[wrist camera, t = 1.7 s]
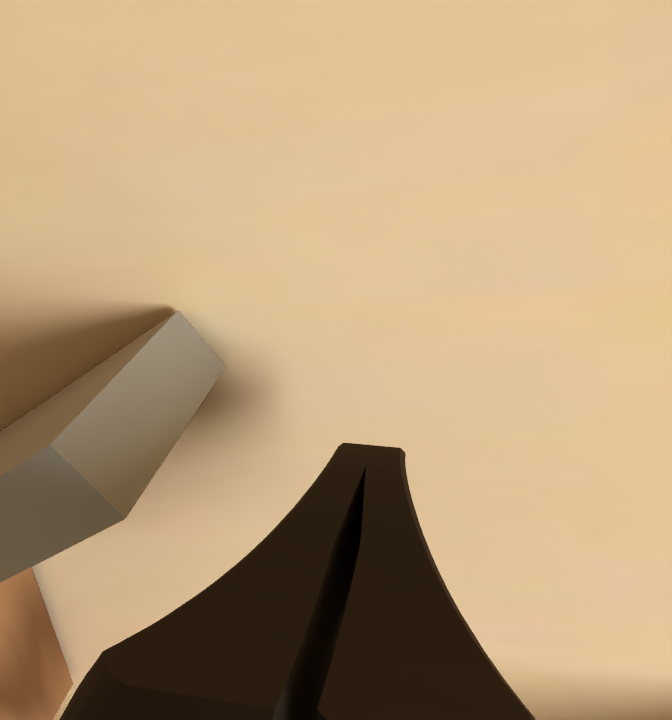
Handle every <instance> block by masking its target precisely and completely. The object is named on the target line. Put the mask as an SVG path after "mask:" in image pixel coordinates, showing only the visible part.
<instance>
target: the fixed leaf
mask: <svg viewBox="0 0 672 720" xmlns="http://www.w3.org/2000/svg"><path fill="white" fill-rule="evenodd" d="M72 685H73V682H72V679H71V676H70V673H69V671H68V668H67V665H66V662H65V659H64V657H63V654H62V651H61V648H60V645H59V643H58V640H57V637H56V634H55V631H54V628H53V626H52V623H51V620H50V617H49V614H48V612H47V609H46V606H45V603H44V600H43V598H42V595H41V592H40V589H39V586H38V584H37V581H36V578H35V575H34V572H33V570H32V567H30V568H28V569H26V570H24V571H22V572H20V573H18V574H16V575H14V576H12V577H10V578H9V579H7V580H5V581H3V582H1V583H0V720H53V718H54V716H55V714H56V713H57V711H58V709H59V708H60V706H61V704H62V702H63V701H64V699H65V697H66V695H67V694H68V692H69V690H70V688H71V687H72Z"/></svg>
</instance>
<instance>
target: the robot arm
mask: <svg viewBox="0 0 672 720" xmlns="http://www.w3.org/2000/svg"><path fill="white" fill-rule="evenodd" d="M60 720H535V718H534V716H533V715H532V714H531V713H530V711H529V710H528V709H527V708H526V707H525V705H524V704H523V703H522V702H521V700H520V699H519V698H518V697H517V695H516V694H515V693H514V691H513V690H512V689H511V687H510V686H509V685H508V683H507V682H506V681H505V680H504V678H503V677H502V676H501V674H500V673H499V671H498V670H497V668H496V667H495V666H494V664H493V663H492V661H491V660H490V658H489V657H488V656H487V654H486V653H485V651H484V650H483V648H482V647H481V645H480V643H479V642H478V640H477V639H476V637H475V635H474V634H473V632H472V631H471V629H470V627H469V626H468V624H467V623H466V621H465V619H464V618H463V616H462V615H461V613H460V611H459V609H458V608H457V606H456V604H455V602H454V600H453V598H452V597H451V595H450V593H449V591H448V589H447V587H446V585H445V583H444V581H443V579H442V577H441V575H440V573H439V571H438V569H437V566H436V564H435V562H434V560H433V557H432V555H431V553H430V550H429V548H428V545H427V543H426V540H425V538H424V535H423V532H422V530H421V527H420V524H419V521H418V518H417V515H416V511H415V508H414V505H413V502H412V498H411V494H410V490H409V485H408V481H407V475H406V468H405V452H404V451H403V450H402V449H401V448H395V447H384V446H373V445H362V444H352V443H343V444H341V445H340V446H338V448H337V450H336V451H335V453H334V455H333V456H332V458H331V459H330V461H329V462H328V464H327V465H326V467H325V468H324V470H323V471H322V472H321V474H320V475H319V476H318V478H317V479H316V480H315V482H314V483H313V484H312V486H311V487H310V488H309V489H308V491H307V492H306V493H305V494H304V496H303V497H302V498H301V499H300V501H299V502H298V503H297V504H296V505H295V507H294V508H293V509H292V510H291V511H290V512H289V513H288V514H287V515H286V516H285V518H284V519H283V520H282V521H281V522H280V523H279V524H278V525H277V526H276V527H275V528H274V530H273V531H272V532H271V533H270V534H269V535H268V536H267V537H266V538H265V539H264V540H263V541H262V542H261V543H260V544H258V545H257V546H256V547H255V548H254V549H253V550H252V551H251V552H250V553H249V554H248V555H247V556H245V557H244V558H243V559H242V560H241V561H240V562H239V563H237V564H236V565H235V566H234V567H233V568H231V569H230V570H229V571H228V572H226V573H225V574H224V575H223V576H222V577H220V578H219V579H218V580H217V581H215V582H214V583H213V584H211V585H210V586H209V587H207V588H206V589H205V590H203V591H202V592H201V593H199V594H198V595H196V596H195V597H193V598H192V599H190V600H189V601H187V602H186V603H185V604H183V605H182V606H180V607H179V608H177V609H176V610H174V611H173V612H171V613H170V614H168V615H167V616H165V617H164V618H162V619H160V620H159V621H157V622H156V623H154V624H152V625H151V626H149V627H147V628H145V629H143V630H142V631H140V632H138V633H136V634H134V635H133V636H131V637H129V638H127V639H125V640H123V641H122V642H120V643H118V644H116V645H114V646H112V647H110V648H108V649H106V650H105V651H103V652H102V653H101V655H100V656H99V658H98V659H97V661H96V662H95V664H94V665H93V666H92V668H91V669H90V670H89V672H88V673H87V674H86V676H85V677H84V679H83V680H82V682H81V683H80V685H79V686H78V688H77V690H76V691H75V693H74V695H73V697H72V699H71V700H70V702H69V704H68V706H67V707H66V709H65V711H64V713H63V715H62V716H61V718H60Z"/></svg>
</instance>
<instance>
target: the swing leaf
mask: <svg viewBox="0 0 672 720" xmlns="http://www.w3.org/2000/svg"><path fill="white" fill-rule="evenodd" d="M225 367H226V366H225V365H224V364H223V362H222V361H221V360H220V359H219V358H218V356H217V355H216V354H215V353H214V352H213V350H212V349H211V348H210V347H209V346H208V344H207V343H206V342H205V341H204V340H203V338H202V337H201V336H200V335H199V334H198V332H197V331H196V330H195V329H194V328H193V326H192V325H191V324H190V323H189V322H188V320H187V319H186V318H185V317H184V316H183V314H182V313H181V312H180V311H179V310H178V311H176V312H175V313H173V314H172V315H170V316H169V317H168V318H166V319H165V320H163V321H162V322H160V323H159V324H157V325H156V326H154V327H153V328H151V329H150V330H149V331H147V332H146V333H144V334H143V335H141V336H140V337H138V338H137V339H135V340H134V341H132V342H131V343H129V344H128V345H127V346H125V347H124V348H122V349H121V350H119V351H118V352H116V353H115V354H113V355H112V356H110V357H109V358H108V359H106V360H105V361H103V362H102V363H100V364H99V365H97V366H96V367H94V368H93V369H91V370H90V371H88V372H87V373H86V374H84V375H83V376H81V377H80V378H78V379H77V380H75V381H74V382H72V383H71V384H69V385H68V386H67V387H65V388H64V389H62V390H61V391H59V392H58V393H56V394H55V395H53V396H52V397H50V398H49V399H47V400H46V401H45V402H43V403H42V404H40V405H39V406H37V407H36V408H34V409H33V410H31V411H30V412H28V413H27V414H26V415H24V416H23V417H21V418H20V419H18V420H17V421H15V422H14V423H12V424H11V425H9V426H8V427H7V428H5V429H4V430H2V431H1V432H0V583H1V582H3V581H5V580H7V579H9V578H10V577H12V576H14V575H16V574H18V573H20V572H22V571H24V570H26V569H28V568H30V567H32V566H34V565H36V564H38V563H40V562H42V561H44V560H46V559H48V558H50V557H52V556H54V555H55V554H57V553H59V552H61V551H63V550H65V549H67V548H69V547H71V546H73V545H75V544H77V543H79V542H81V541H83V540H85V539H87V538H89V537H91V536H93V535H95V534H97V533H98V532H100V531H102V530H104V529H106V528H108V527H110V526H112V525H114V524H116V523H118V522H120V521H122V520H124V519H125V518H126V517H127V515H128V514H129V512H130V511H131V509H132V508H133V506H134V505H135V503H136V502H137V500H138V499H139V497H140V496H141V494H142V493H143V491H144V490H145V488H146V487H147V485H148V484H149V482H150V481H151V479H152V478H153V476H154V474H155V473H156V471H157V470H158V468H159V467H160V465H161V464H162V462H163V461H164V459H165V458H166V456H167V455H168V453H169V452H170V450H171V449H172V447H173V446H174V444H175V443H176V441H177V440H178V438H179V437H180V435H181V434H182V432H183V431H184V429H185V428H186V426H187V425H188V423H189V422H190V420H191V419H192V417H193V415H194V414H195V412H196V411H197V409H198V408H199V406H200V405H201V403H202V402H203V400H204V399H205V397H206V396H207V394H208V393H209V391H210V390H211V388H212V387H213V385H214V384H215V382H216V381H217V379H218V378H219V376H220V375H221V373H222V372H223V370H224V369H225Z"/></svg>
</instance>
